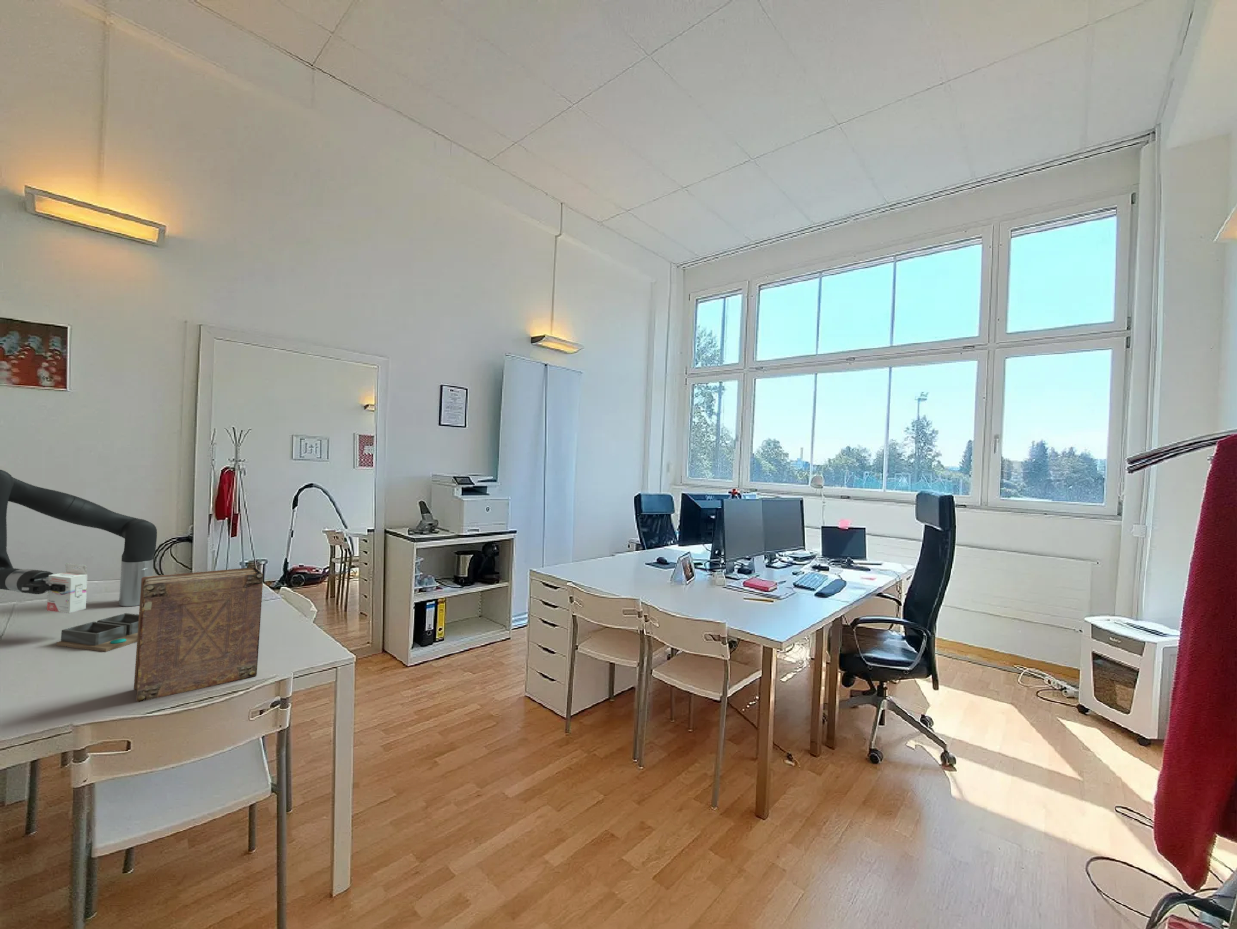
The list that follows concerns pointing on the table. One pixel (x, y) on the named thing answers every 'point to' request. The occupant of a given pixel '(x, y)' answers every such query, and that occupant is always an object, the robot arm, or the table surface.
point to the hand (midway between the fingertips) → (74, 586)
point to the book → (197, 630)
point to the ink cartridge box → (69, 590)
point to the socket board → (102, 633)
